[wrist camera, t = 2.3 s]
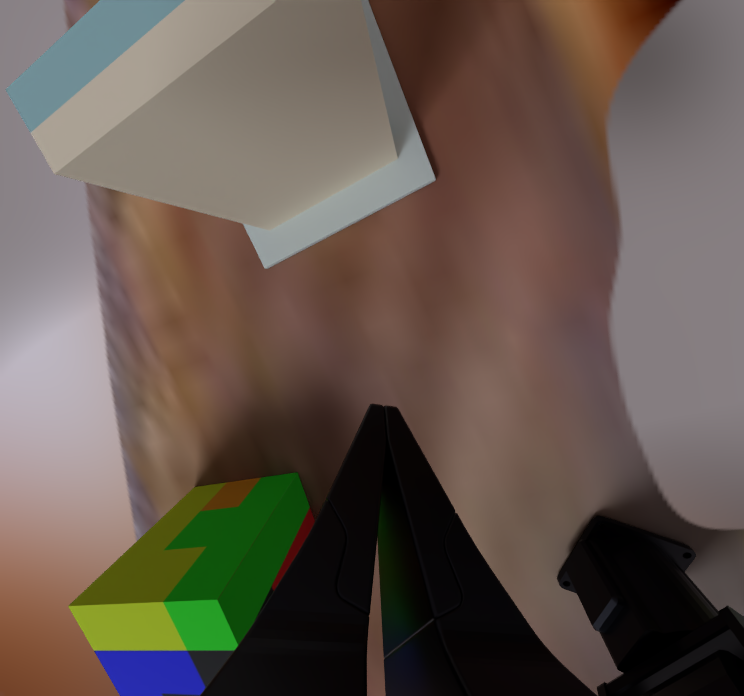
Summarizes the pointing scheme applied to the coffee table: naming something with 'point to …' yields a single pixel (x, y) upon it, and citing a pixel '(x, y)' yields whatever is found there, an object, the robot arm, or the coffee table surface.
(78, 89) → the tile
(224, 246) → the coffee table surface
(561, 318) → the coffee table surface
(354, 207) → the mat
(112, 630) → the puzzle toy
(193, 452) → the coffee table surface
